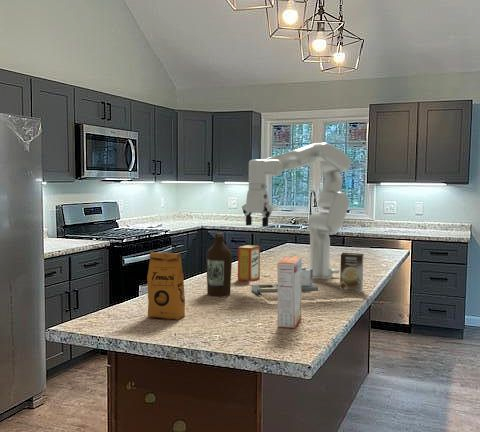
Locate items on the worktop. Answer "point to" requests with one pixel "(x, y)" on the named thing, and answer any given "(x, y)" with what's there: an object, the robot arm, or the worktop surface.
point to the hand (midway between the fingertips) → (256, 225)
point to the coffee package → (165, 286)
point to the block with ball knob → (311, 275)
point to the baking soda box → (248, 263)
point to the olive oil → (218, 268)
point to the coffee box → (351, 271)
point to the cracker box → (289, 292)
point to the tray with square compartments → (276, 288)
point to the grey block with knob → (305, 277)
